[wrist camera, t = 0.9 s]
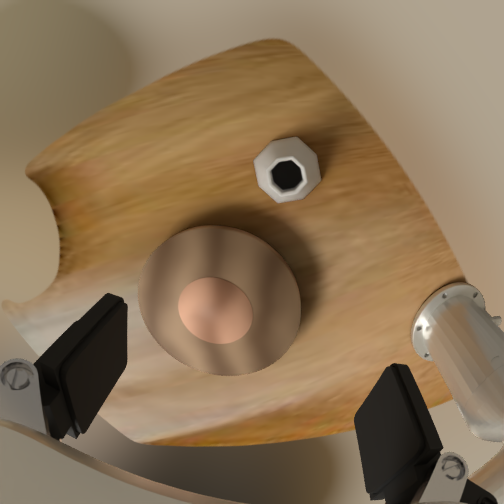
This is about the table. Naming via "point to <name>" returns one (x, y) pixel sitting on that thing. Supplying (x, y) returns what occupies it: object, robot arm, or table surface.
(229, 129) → the table surface
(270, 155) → the flask
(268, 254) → the turntable
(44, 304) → the table surface
